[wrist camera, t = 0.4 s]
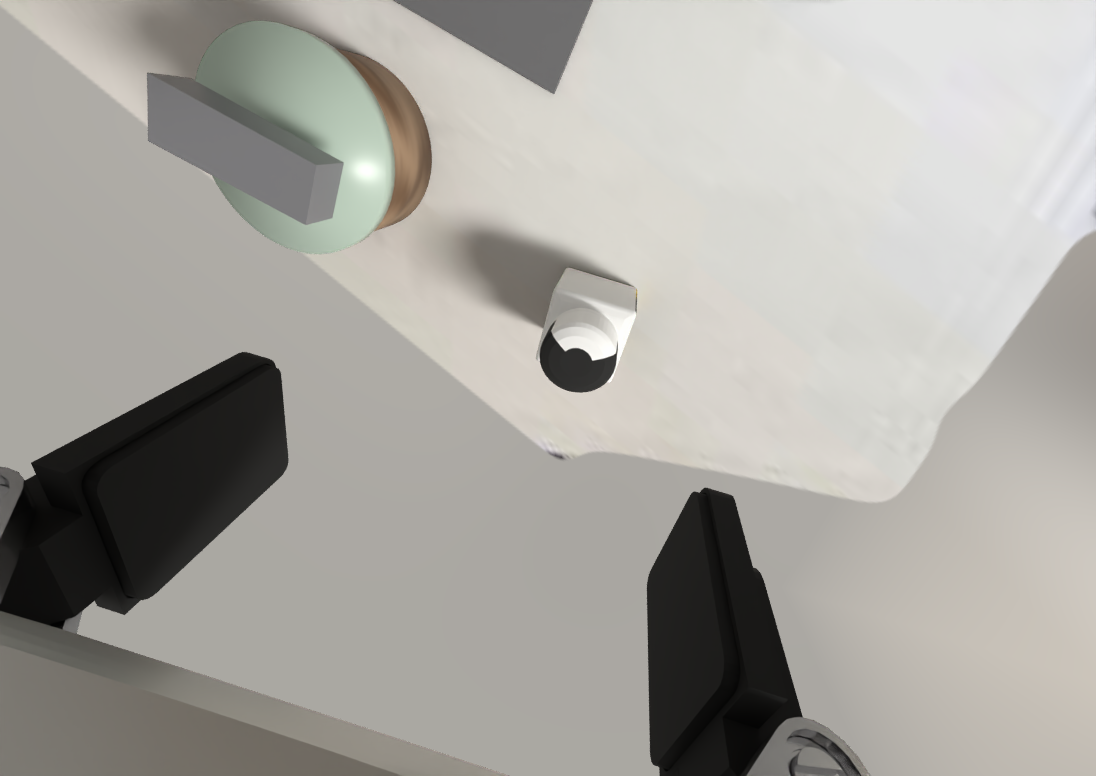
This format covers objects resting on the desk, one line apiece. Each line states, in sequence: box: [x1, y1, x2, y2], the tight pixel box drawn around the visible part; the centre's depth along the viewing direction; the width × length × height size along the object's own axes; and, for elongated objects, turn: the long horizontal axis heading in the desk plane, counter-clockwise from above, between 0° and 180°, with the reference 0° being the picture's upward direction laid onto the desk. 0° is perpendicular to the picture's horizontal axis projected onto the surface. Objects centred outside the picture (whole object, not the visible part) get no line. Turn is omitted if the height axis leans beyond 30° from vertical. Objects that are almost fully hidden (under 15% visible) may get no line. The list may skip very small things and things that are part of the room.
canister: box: [335, 48, 432, 231], centre depth 38 cm, size 14×14×8 cm
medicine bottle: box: [536, 268, 637, 392], centre depth 40 cm, size 7×7×12 cm
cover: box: [147, 21, 395, 254], centre depth 32 cm, size 15×15×7 cm
